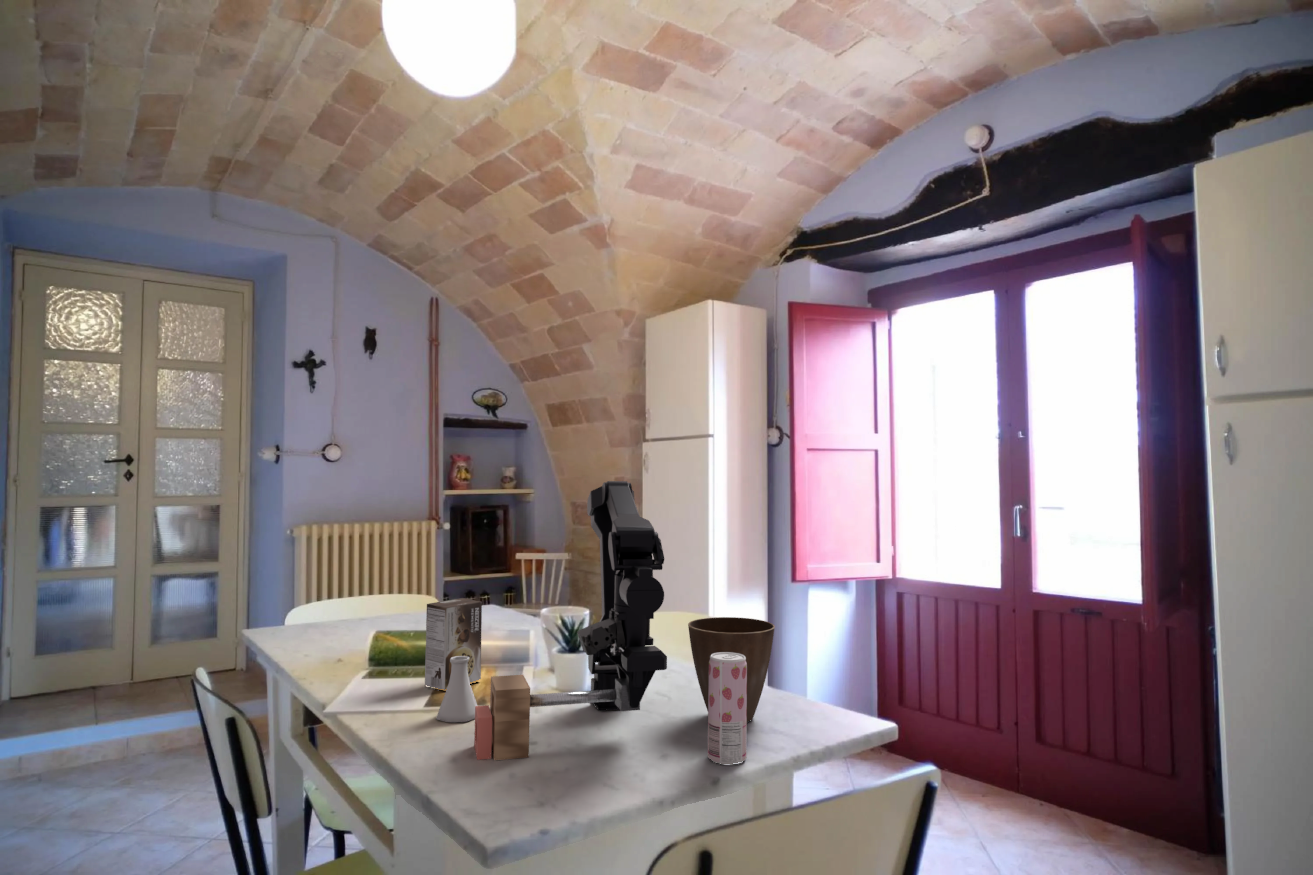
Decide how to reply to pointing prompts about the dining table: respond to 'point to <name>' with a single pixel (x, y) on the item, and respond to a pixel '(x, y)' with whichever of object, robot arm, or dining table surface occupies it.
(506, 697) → the block
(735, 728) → the beverage can
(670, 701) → the dining table surface
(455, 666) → the flask
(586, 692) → the shaft
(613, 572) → the robot arm
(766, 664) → the plant pot
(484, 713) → the block
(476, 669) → the coffee box
